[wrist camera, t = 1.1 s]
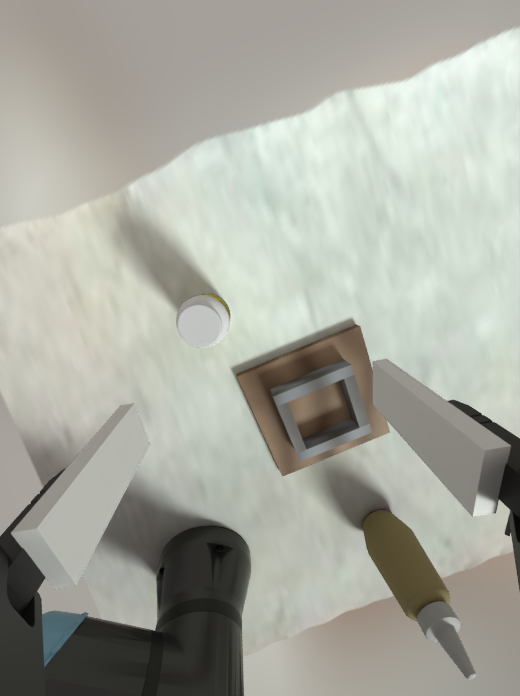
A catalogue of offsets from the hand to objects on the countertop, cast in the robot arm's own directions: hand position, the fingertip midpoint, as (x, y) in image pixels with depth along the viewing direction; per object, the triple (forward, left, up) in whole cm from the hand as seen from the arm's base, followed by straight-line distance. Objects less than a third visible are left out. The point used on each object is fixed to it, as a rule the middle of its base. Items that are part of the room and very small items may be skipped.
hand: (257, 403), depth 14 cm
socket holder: (+6, -14, -20) cm, 25 cm away
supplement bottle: (-3, +4, -20) cm, 21 cm away
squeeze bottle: (+9, -41, -20) cm, 47 cm away
